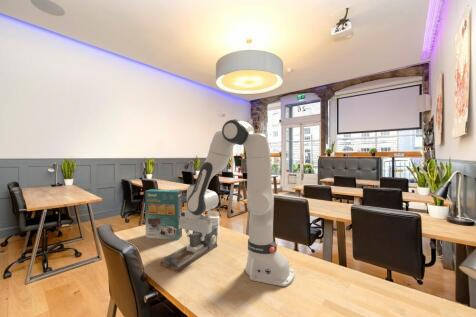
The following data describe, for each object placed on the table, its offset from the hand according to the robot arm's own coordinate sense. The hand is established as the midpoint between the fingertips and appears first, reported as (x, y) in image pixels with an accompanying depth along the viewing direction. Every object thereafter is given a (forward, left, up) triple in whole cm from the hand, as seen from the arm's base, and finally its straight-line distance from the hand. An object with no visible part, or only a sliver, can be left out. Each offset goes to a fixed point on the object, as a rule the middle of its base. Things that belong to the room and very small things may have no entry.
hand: (195, 238), depth 118 cm
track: (0, +3, -8) cm, 8 cm away
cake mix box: (+32, -7, -8) cm, 34 cm away
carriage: (0, 0, -6) cm, 6 cm away
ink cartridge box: (+8, -27, -8) cm, 29 cm away
